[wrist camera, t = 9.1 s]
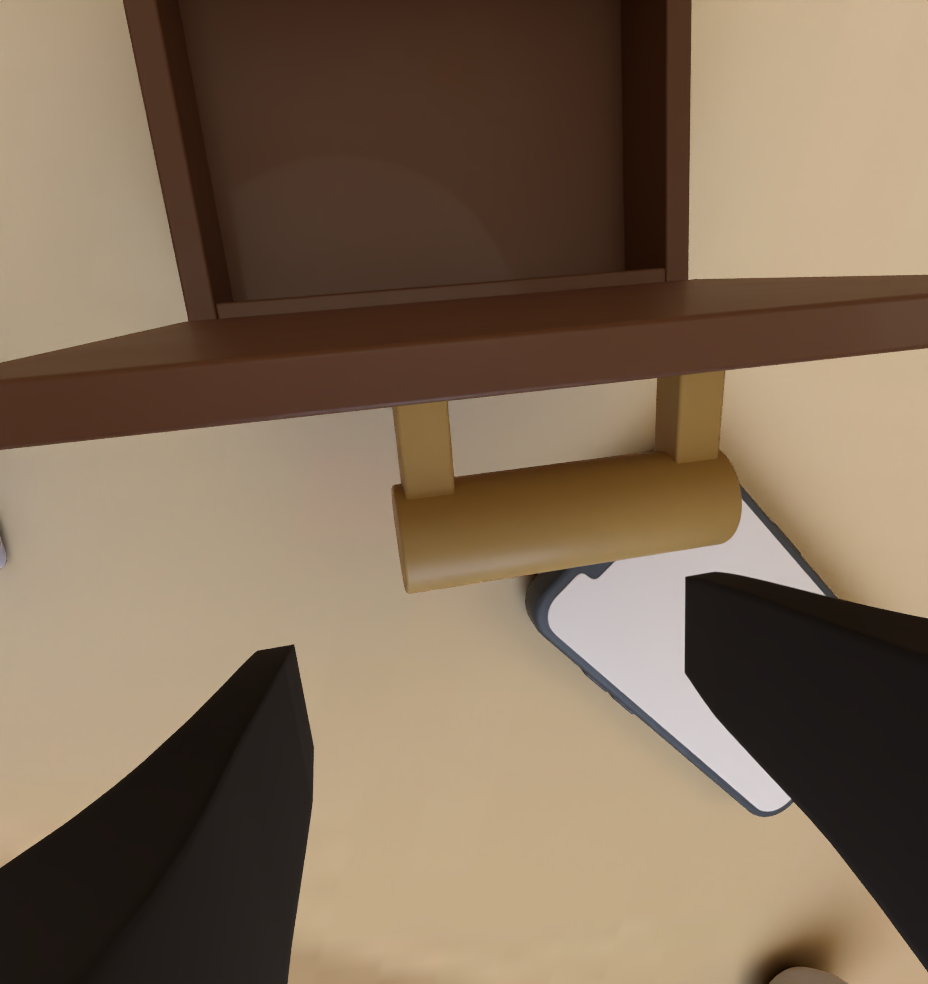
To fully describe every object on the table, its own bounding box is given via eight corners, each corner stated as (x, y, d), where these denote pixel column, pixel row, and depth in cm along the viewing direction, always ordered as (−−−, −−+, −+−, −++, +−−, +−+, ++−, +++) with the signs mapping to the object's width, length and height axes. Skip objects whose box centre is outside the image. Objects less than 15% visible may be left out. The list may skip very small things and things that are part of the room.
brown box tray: (148, -38, 15) (93, -139, 12) (631, -35, 17) (694, -120, 14) (220, 336, 18) (190, 334, 14) (635, 300, 20) (689, 291, 16)
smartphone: (885, 665, 26) (675, 423, 21) (919, 686, 24) (701, 430, 19) (743, 803, 26) (505, 599, 21) (767, 832, 25) (517, 620, 20)
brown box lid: (-138, 393, 5) (20, 757, 6) (1179, 269, 7) (1081, 562, 8) (183, 321, 14) (218, 471, 15) (696, 279, 16) (688, 414, 17)
